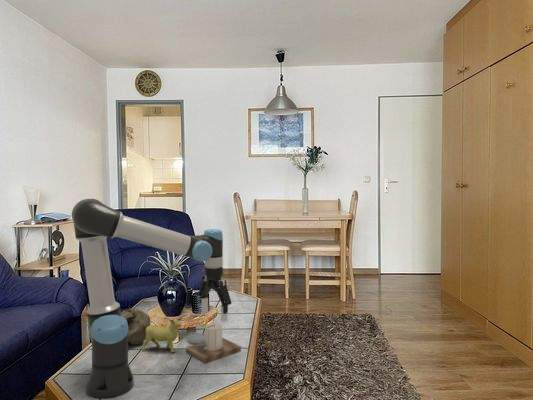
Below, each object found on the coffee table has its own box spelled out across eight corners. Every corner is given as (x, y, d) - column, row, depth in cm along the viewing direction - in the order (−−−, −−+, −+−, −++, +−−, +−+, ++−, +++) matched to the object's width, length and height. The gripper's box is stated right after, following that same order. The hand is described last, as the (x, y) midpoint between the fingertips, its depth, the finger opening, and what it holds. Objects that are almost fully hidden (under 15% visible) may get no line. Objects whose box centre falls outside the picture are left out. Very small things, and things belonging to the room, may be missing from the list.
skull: (100, 317, 171) (133, 324, 168) (128, 298, 192) (158, 304, 190) (98, 352, 173) (131, 359, 170) (126, 329, 195) (156, 335, 192)
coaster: (195, 346, 178) (195, 344, 178) (182, 339, 186) (182, 337, 186) (216, 340, 186) (216, 338, 186) (202, 333, 194) (202, 331, 194)
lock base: (205, 363, 162) (205, 343, 162) (186, 352, 172) (185, 333, 172) (240, 351, 174) (240, 332, 174) (220, 341, 184) (221, 323, 184)
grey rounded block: (215, 342, 178) (215, 321, 178) (225, 347, 173) (225, 325, 173) (198, 347, 172) (198, 325, 172) (208, 352, 167) (208, 330, 167)
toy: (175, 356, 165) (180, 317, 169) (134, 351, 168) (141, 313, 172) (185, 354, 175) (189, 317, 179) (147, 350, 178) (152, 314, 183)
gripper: (239, 269, 165) (240, 322, 166) (204, 261, 183) (204, 308, 184) (224, 272, 160) (225, 326, 161) (189, 263, 178) (190, 312, 179)
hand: (214, 317), depth 173 cm, fingers open, 13 cm apart
